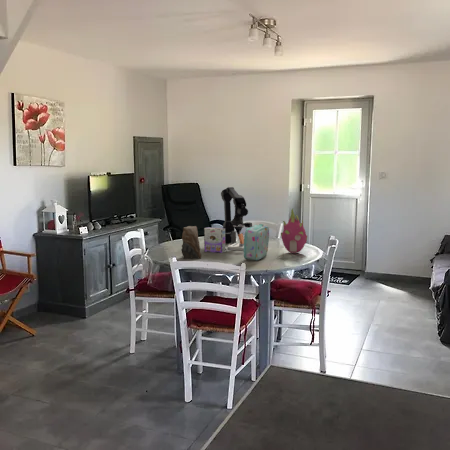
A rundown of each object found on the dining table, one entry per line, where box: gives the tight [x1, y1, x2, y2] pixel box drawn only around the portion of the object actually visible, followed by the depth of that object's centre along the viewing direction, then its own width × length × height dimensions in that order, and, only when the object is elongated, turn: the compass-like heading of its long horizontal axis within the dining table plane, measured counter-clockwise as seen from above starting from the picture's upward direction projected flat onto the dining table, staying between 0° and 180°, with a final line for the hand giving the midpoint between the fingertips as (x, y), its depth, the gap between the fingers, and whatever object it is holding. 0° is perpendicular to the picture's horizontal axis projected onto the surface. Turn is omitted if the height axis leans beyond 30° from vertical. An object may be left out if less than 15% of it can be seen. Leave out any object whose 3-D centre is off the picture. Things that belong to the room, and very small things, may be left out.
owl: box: [181, 225, 202, 260], centre depth 320 cm, size 13×13×20 cm
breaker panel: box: [227, 242, 244, 251], centre depth 350 cm, size 16×14×4 cm
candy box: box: [203, 226, 226, 254], centre depth 338 cm, size 14×6×16 cm, turn 65°
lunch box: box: [243, 223, 270, 261], centre depth 317 cm, size 27×10×21 cm, turn 159°
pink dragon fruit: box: [280, 208, 308, 254], centre depth 330 cm, size 18×14×30 cm
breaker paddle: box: [237, 232, 244, 245], centre depth 350 cm, size 2×6×8 cm, turn 158°
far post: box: [230, 230, 237, 245], centre depth 364 cm, size 5×5×10 cm
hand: (238, 236), depth 350 cm, fingers closed
